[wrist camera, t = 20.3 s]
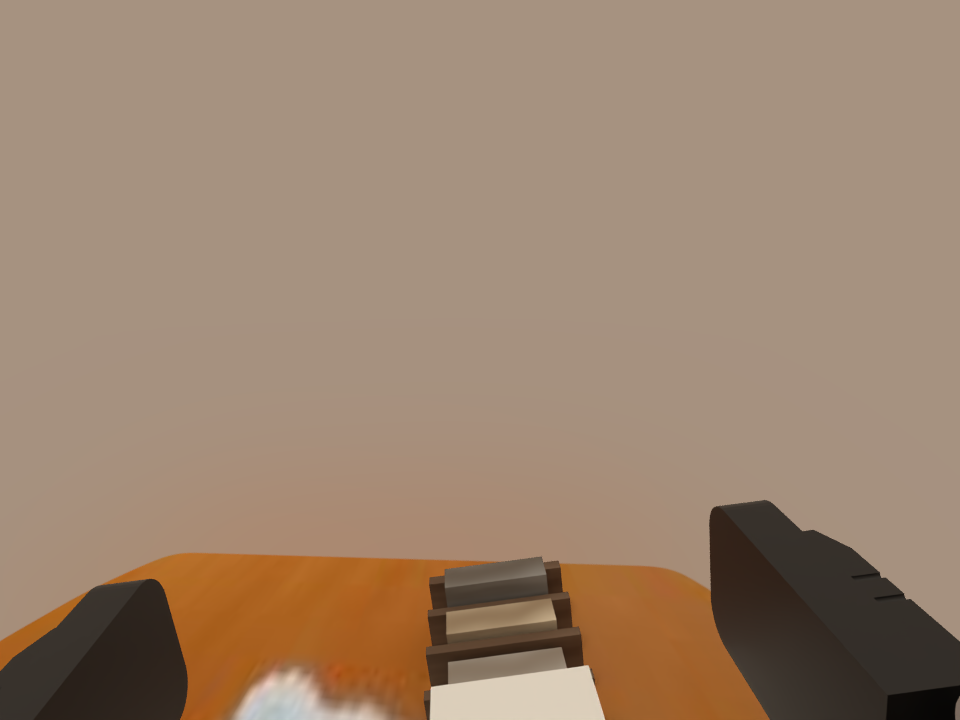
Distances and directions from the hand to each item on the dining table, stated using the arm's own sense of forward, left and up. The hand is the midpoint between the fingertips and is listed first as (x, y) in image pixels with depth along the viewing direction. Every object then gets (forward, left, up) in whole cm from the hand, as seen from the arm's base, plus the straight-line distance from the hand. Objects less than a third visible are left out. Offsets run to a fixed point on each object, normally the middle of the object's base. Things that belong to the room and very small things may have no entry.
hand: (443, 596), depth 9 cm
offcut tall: (-22, +28, -29) cm, 46 cm away
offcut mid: (-20, +25, -29) cm, 43 cm away
